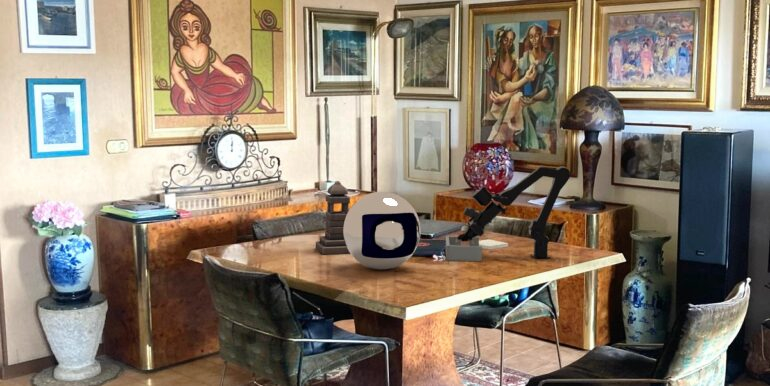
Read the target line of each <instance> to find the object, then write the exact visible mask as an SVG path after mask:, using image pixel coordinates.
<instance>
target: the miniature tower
mask: <svg viewBox="0 0 770 386" xmlns="http://www.w3.org/2000/svg"><path fill="white" fill-rule="evenodd" d="M326 192H327V194H325V202H327V204H326V205H327V206H326V207H327V211H325V231H324V235H319V240H317V241H315V249H316V250H317V251H318V252H319V253H320V254H321V255H323V256H325V255H326V256H327V255H351V253H350V252H349V250H348V248H347V246H346V244H345V241H344V235H343V226H344V221H345V218H346V215H347V213H348V211H349V210H350V208H349V207H350V206H349V204H350V203H351V197H350V196H349V195H348V194H349V191H348V189H347V188H346V187H345V186H344V185H342V183H341V182H340V180H336V181H335V182H334V183H333V184H331V186H329V187H328V188H327V191H326ZM334 204H335V205H338V204H341V207H340V208H341V209H340V210H335V211H334V208H335V207H334V206H335V205H334Z"/></svg>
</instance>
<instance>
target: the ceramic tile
mask: <svg viewBox="0 0 770 386" xmlns="http://www.w3.org/2000/svg"><path fill="white" fill-rule="evenodd" d="M479 246H482V249H484V250H493V249H494V250H495V249H501V248H507V247H509V243H508V242H503V241H499V240H494V239H483V240H479Z"/></svg>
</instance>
